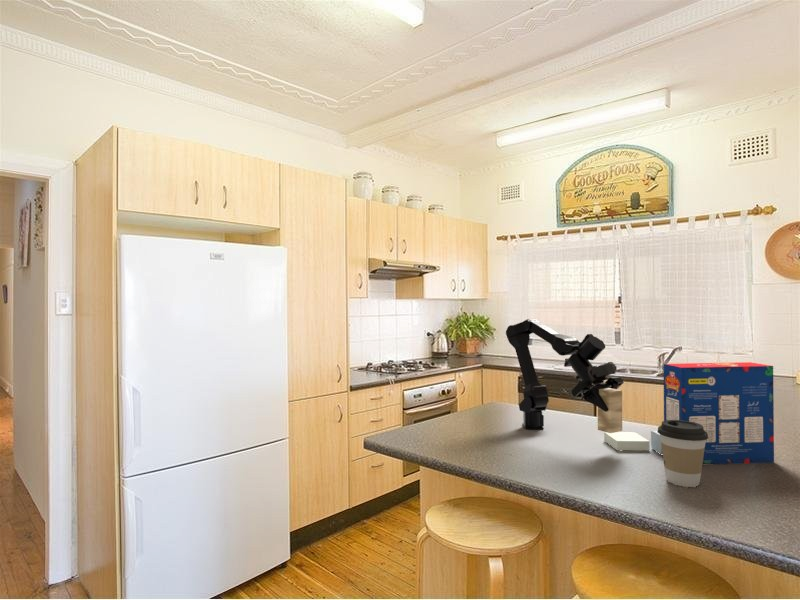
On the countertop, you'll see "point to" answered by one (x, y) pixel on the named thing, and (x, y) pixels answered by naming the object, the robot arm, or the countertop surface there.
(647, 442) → the plinth
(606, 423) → the pillar
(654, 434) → the grey cube
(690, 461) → the coffee cup
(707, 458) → the pasta box
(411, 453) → the countertop surface
